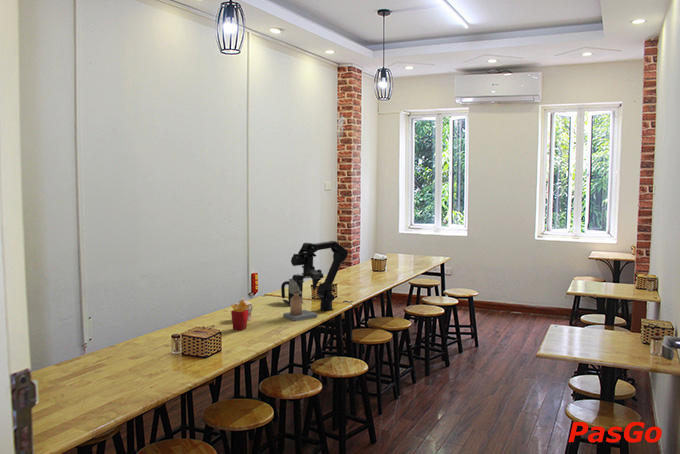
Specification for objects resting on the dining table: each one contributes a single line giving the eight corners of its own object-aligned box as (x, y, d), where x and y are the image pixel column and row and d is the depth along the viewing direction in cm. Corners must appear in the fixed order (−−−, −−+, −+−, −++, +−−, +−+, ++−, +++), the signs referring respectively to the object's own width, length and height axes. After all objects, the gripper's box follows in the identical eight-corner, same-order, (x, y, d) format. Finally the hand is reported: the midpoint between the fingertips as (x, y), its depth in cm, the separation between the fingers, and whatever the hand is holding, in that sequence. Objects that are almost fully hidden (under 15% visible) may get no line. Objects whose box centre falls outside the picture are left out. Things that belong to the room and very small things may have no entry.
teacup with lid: (244, 322, 296) (244, 301, 296) (231, 319, 301) (231, 299, 300) (258, 317, 307) (258, 297, 306) (245, 315, 311) (245, 295, 310)
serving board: (304, 313, 319) (304, 309, 319) (317, 317, 310) (317, 313, 310) (283, 316, 310) (283, 313, 309) (295, 321, 300) (295, 317, 300)
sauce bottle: (293, 312, 312) (293, 289, 311) (303, 313, 310) (303, 290, 308) (288, 314, 306) (288, 291, 305) (298, 316, 304) (298, 292, 303)
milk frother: (301, 300, 354) (301, 277, 352) (306, 305, 338) (306, 282, 337) (279, 301, 350) (279, 278, 348) (283, 307, 334) (284, 283, 333)
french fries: (230, 330, 280) (230, 301, 279) (239, 326, 288) (239, 298, 287) (245, 332, 277) (245, 302, 276) (253, 328, 285) (253, 299, 283)
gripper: (303, 267, 305) (303, 295, 306) (329, 264, 317) (329, 291, 318) (291, 265, 313) (291, 292, 315) (317, 262, 325) (317, 288, 327)
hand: (307, 291), depth 318 cm, fingers open, 9 cm apart
